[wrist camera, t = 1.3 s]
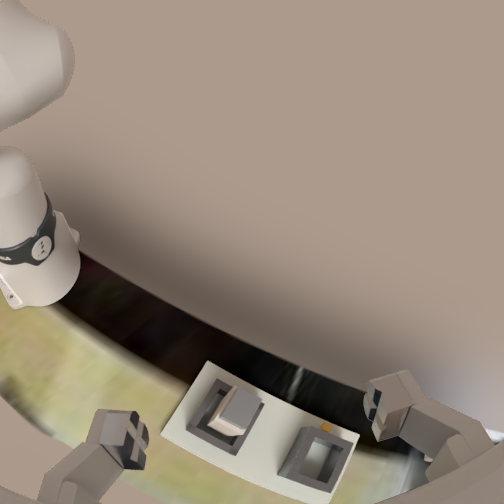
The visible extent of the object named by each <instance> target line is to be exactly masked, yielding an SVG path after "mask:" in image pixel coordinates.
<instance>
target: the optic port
mask: <svg viewBox="0 0 504 504" xmlns="http://www.w3.org/2000/svg"><path fill="white" fill-rule="evenodd" d="M313 441H314V442H316V443H318V444H321V445H323V446H326V447H329V448H331V450H330V452H329V454H328V457H327V459H326V461H325V463H324V465H323V467H322V469H321V471H320V473H319V475H318V477H317V479H316V480H315V479H312V478H309V477H307V476H304V475H301V474H299V473H298V471H299V470H300V468H301V466H302V464H303V462H304V460H305V458H306V456H307V454H308V452H309V450H310V447H311V445H312V443H313ZM353 444H354V443H352V442H350V441H347V440H345V439H342V438H340V437H337V436H335V435H332V434H330V433H327V432H325V431H323V430H320V429H318V428H316V427H313V426H307V427H302V428H301V429H300V431H299V433H298V435H297V437H296V439H295V441H294V443H293V445H292V447H291V449H290V451H289V453H288V455H287V457H286V459H285V460H284V462H283V464H282V466H281V468H280V470H279V472H278V473H277V475H278V476H281V477H283V478H286V479H288V480H291V481H294V482H296V483H299V484H302V485H305V486H308V487H310V488H313V489H316V490H320V491H323V492H327V493H331V492H332V490H333V488H334V486H335V484H336V482H337V480H338V478H339V476H340V474H341V472H342V469H343V467H344V465H345V463H346V460H347V458H348V456H349V454H350V451H351V449H352V446H353Z"/></svg>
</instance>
